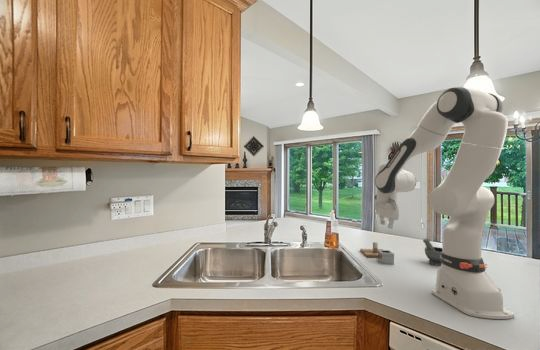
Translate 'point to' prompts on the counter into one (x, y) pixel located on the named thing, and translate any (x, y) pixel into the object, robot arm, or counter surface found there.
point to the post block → (371, 251)
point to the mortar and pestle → (432, 253)
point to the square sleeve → (385, 257)
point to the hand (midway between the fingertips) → (386, 226)
